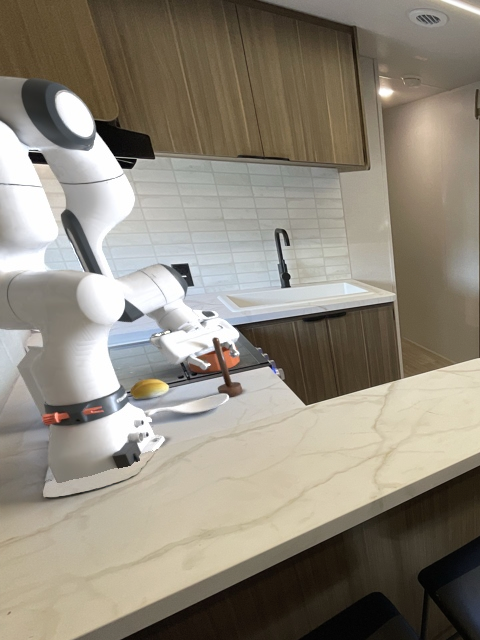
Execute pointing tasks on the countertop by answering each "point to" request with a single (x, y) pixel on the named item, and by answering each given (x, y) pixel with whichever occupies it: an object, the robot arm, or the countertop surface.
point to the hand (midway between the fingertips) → (222, 361)
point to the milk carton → (28, 378)
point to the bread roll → (149, 389)
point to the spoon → (193, 405)
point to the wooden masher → (225, 373)
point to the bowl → (214, 361)
